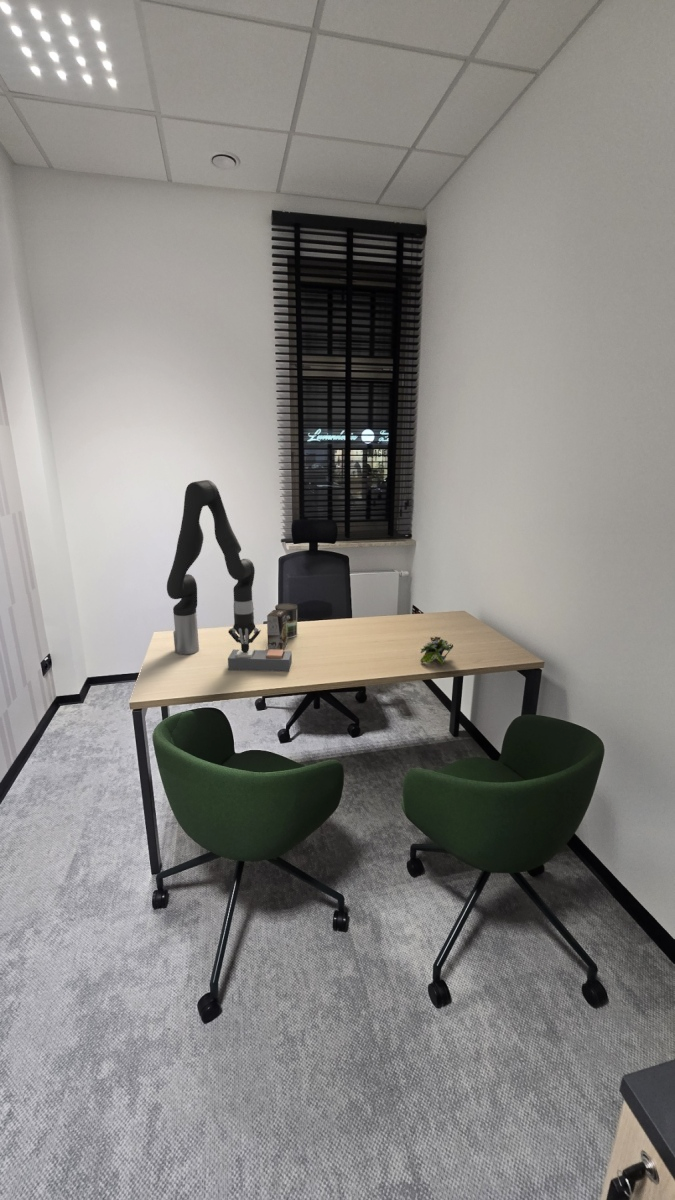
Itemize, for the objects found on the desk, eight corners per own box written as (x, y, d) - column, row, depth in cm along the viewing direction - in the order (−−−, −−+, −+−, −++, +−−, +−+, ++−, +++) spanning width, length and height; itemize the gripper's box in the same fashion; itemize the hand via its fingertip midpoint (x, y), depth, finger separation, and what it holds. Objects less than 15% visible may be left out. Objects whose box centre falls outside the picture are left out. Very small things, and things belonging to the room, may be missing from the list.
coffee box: (281, 652, 208) (280, 616, 203) (267, 650, 209) (266, 615, 205) (287, 644, 217) (287, 610, 212) (274, 643, 218) (273, 609, 213)
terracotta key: (266, 662, 190) (266, 655, 189) (269, 656, 196) (269, 649, 195) (281, 662, 190) (281, 655, 189) (283, 656, 196) (283, 649, 195)
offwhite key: (236, 661, 190) (236, 654, 189) (239, 655, 196) (239, 648, 195) (251, 661, 190) (251, 654, 189) (254, 655, 196) (254, 649, 195)
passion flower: (432, 671, 206) (447, 643, 207) (448, 678, 195) (464, 649, 196) (410, 657, 202) (426, 629, 203) (425, 663, 191) (441, 634, 192)
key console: (228, 670, 190) (227, 658, 188) (233, 660, 198) (233, 649, 197) (289, 671, 189) (289, 659, 188) (291, 662, 198) (291, 650, 197)
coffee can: (292, 639, 222) (292, 610, 218) (272, 637, 225) (271, 608, 221) (300, 632, 232) (300, 604, 228) (281, 629, 234) (280, 602, 230)
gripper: (224, 613, 184) (226, 655, 189) (258, 613, 184) (260, 656, 189) (228, 607, 191) (231, 648, 196) (262, 608, 191) (263, 648, 196)
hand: (245, 651), depth 192 cm, fingers closed
